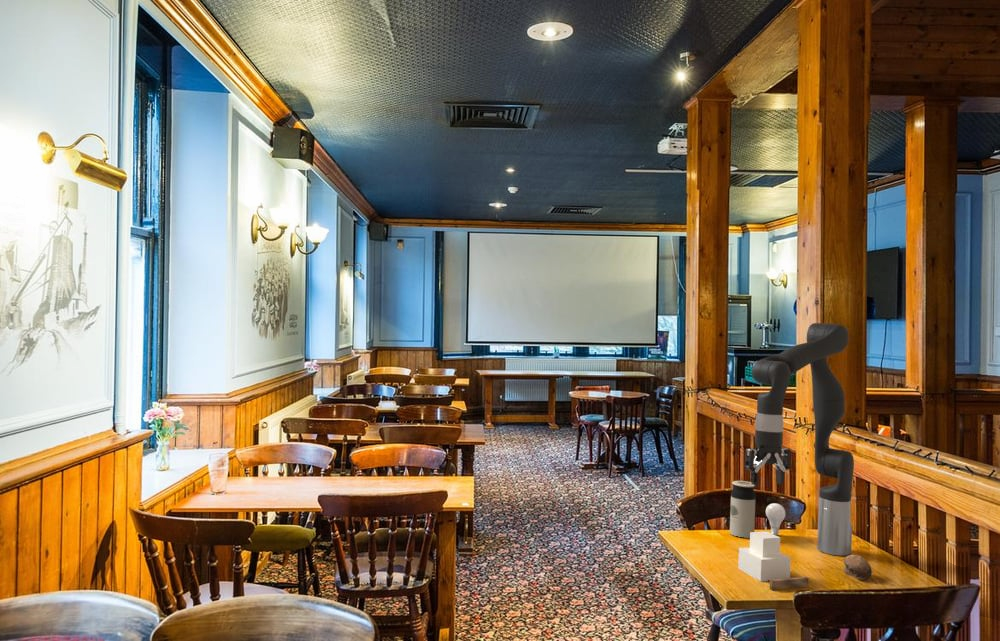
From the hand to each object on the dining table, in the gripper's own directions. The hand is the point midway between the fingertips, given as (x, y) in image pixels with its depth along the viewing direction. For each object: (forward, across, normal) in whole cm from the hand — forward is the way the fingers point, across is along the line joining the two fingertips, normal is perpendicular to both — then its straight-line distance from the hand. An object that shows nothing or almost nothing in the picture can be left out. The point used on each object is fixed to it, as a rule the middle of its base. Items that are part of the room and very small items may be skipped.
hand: (767, 484), depth 192 cm
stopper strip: (+26, 0, +10) cm, 28 cm away
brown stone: (+26, -27, +7) cm, 38 cm away
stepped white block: (+26, 0, 0) cm, 26 cm away
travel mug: (+26, -17, -33) cm, 45 cm away
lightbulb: (+26, -29, -31) cm, 50 cm away
